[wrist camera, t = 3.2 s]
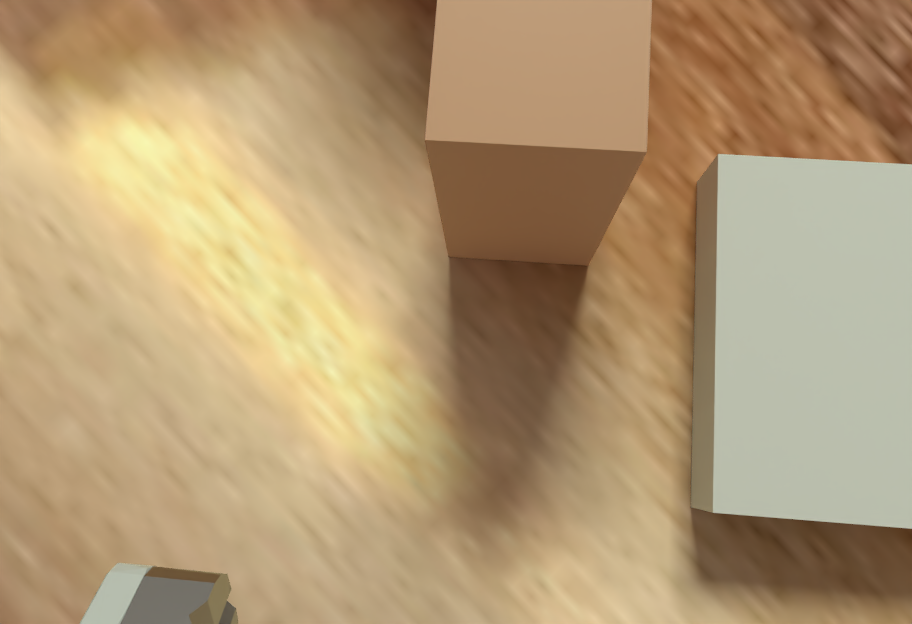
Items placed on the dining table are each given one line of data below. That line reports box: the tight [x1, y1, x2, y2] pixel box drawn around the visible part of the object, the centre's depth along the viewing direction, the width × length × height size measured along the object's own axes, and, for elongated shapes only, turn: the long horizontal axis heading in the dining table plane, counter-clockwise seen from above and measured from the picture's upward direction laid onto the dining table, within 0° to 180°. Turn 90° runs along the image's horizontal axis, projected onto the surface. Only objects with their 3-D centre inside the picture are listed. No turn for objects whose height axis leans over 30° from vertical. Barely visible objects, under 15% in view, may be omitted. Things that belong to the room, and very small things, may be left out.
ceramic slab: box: [691, 154, 912, 529], centre depth 24 cm, size 11×11×2 cm
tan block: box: [425, 0, 652, 266], centre depth 22 cm, size 5×5×10 cm
